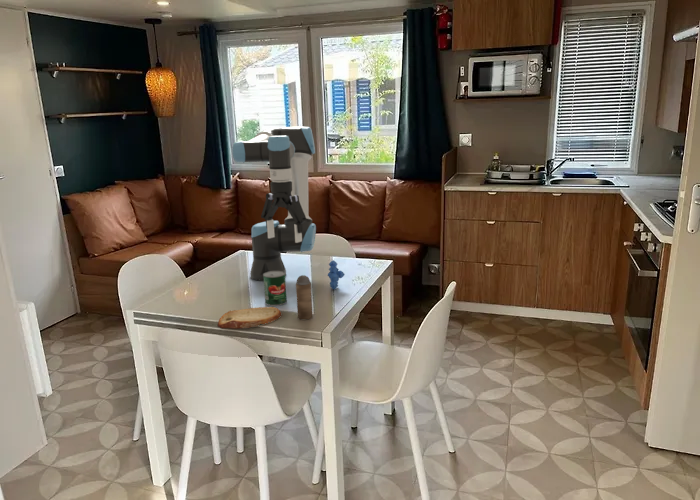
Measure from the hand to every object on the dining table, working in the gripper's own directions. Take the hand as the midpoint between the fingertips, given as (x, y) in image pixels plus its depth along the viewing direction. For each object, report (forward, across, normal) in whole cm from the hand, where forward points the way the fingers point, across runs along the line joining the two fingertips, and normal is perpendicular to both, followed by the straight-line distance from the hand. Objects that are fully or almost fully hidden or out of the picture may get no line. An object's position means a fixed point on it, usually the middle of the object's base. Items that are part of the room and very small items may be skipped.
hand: (284, 239), depth 201 cm
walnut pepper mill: (+23, +17, -9) cm, 30 cm away
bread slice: (+24, +3, -21) cm, 32 cm away
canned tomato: (+23, -3, -4) cm, 24 cm away
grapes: (+23, +6, +20) cm, 32 cm away
